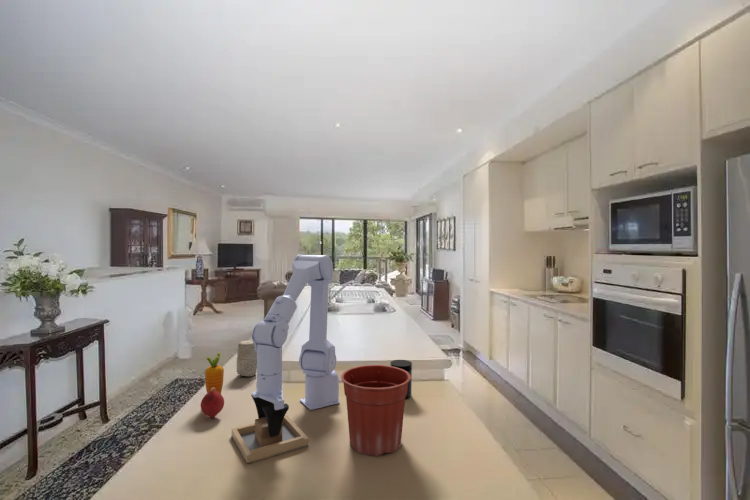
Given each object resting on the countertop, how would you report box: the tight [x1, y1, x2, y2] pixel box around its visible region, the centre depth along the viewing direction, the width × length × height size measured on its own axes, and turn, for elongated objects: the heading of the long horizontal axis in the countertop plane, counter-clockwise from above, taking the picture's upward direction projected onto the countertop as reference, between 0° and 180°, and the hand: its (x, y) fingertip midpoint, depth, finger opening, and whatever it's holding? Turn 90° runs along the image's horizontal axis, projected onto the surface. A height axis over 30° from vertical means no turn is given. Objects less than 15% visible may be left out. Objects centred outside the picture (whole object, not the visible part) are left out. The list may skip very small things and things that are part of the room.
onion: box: [200, 388, 225, 419], centre depth 103 cm, size 6×6×8 cm
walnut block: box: [254, 417, 282, 447], centre depth 91 cm, size 5×5×4 cm
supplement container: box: [389, 359, 413, 401], centre depth 119 cm, size 7×7×10 cm
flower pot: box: [340, 364, 411, 456], centre depth 91 cm, size 16×16×16 cm
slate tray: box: [231, 414, 309, 465], centre depth 91 cm, size 14×14×2 cm
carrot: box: [204, 352, 225, 395], centre depth 111 cm, size 5×5×15 cm
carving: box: [236, 339, 257, 377], centre depth 137 cm, size 6×8×12 cm
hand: (269, 428), depth 91 cm, fingers open, 7 cm apart
